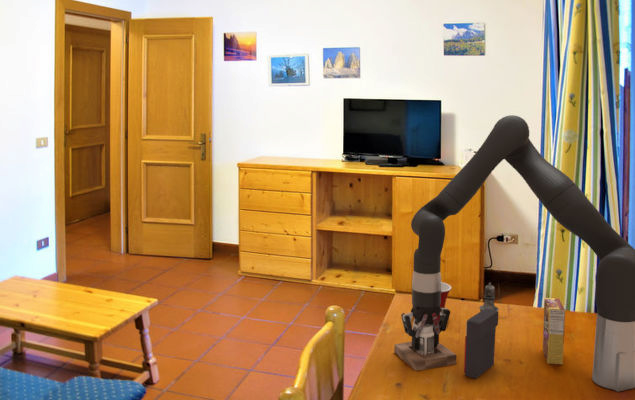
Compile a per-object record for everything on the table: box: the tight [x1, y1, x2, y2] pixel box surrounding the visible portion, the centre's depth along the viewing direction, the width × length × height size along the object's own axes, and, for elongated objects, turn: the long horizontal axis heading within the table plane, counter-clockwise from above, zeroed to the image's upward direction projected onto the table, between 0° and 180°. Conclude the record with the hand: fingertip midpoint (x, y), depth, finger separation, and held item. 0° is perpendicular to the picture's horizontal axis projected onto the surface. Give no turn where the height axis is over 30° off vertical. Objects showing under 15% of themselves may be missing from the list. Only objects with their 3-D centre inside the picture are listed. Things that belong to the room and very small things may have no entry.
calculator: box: [463, 309, 499, 380], centre depth 162 cm, size 11×4×15 cm, turn 141°
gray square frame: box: [393, 341, 457, 372], centre depth 171 cm, size 12×12×2 cm
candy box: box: [542, 297, 566, 365], centre depth 169 cm, size 9×4×15 cm, turn 168°
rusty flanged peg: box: [478, 282, 499, 312], centre depth 198 cm, size 6×6×12 cm
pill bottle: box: [416, 324, 434, 356], centre depth 170 cm, size 5×5×8 cm
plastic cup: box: [437, 281, 452, 322], centre depth 197 cm, size 11×11×12 cm
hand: (425, 347), depth 170 cm, fingers closed on pill bottle, 4 cm apart
